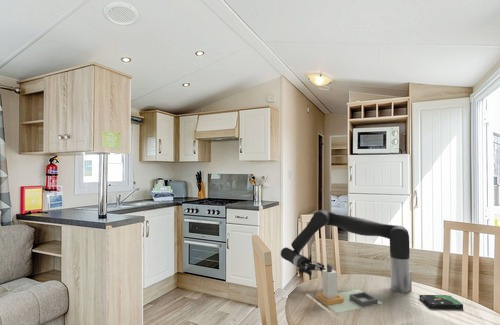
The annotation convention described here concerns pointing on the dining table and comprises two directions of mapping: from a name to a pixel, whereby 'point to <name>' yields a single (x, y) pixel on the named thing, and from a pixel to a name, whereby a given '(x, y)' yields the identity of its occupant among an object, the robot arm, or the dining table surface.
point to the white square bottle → (329, 283)
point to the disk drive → (440, 302)
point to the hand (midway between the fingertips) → (318, 272)
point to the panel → (349, 301)
